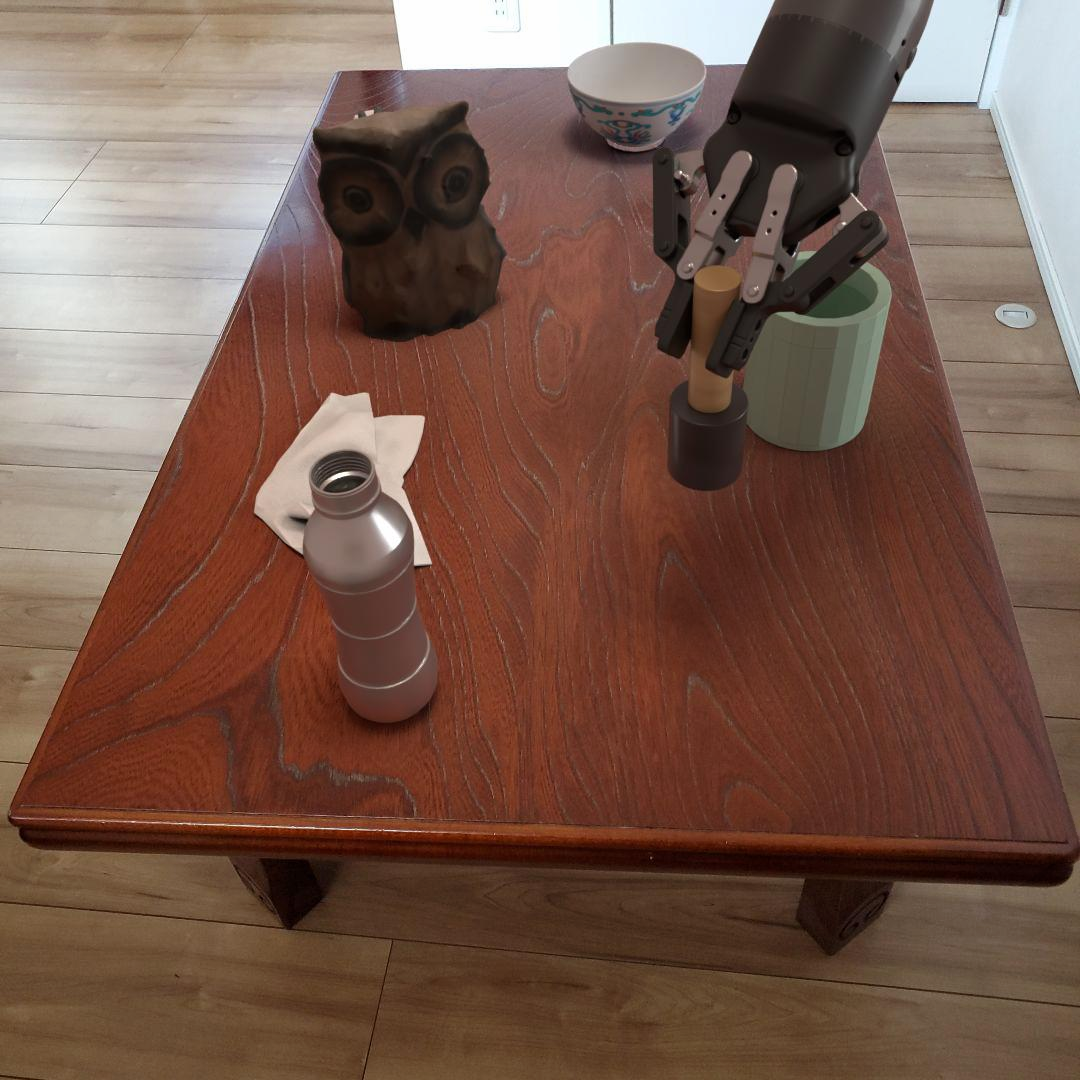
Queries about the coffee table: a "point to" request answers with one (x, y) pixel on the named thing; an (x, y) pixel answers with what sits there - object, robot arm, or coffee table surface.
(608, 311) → the coffee table surface
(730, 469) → the peg in round base
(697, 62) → the chinaware
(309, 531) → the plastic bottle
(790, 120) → the robot arm
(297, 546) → the cloth
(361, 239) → the owl
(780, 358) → the cup
